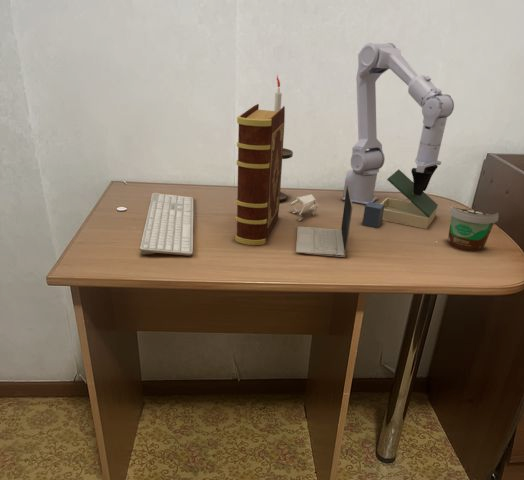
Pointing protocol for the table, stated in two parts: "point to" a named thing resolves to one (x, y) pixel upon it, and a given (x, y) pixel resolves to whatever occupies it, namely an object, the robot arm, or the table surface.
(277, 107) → the candlestick
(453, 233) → the food container
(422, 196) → the box lid
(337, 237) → the laptop
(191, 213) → the keyboard
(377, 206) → the block
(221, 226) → the table surface
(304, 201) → the origami figure
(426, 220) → the tan tray
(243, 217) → the decorative book
